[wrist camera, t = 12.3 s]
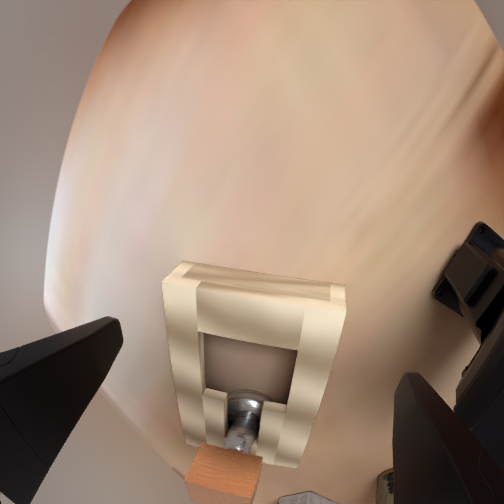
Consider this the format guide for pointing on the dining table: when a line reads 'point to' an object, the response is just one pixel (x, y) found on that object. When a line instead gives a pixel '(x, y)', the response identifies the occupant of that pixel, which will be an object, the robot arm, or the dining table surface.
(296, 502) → the coffee box
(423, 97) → the dining table surface
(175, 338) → the keyhole box
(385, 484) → the mug
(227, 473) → the wooden block metal peg
